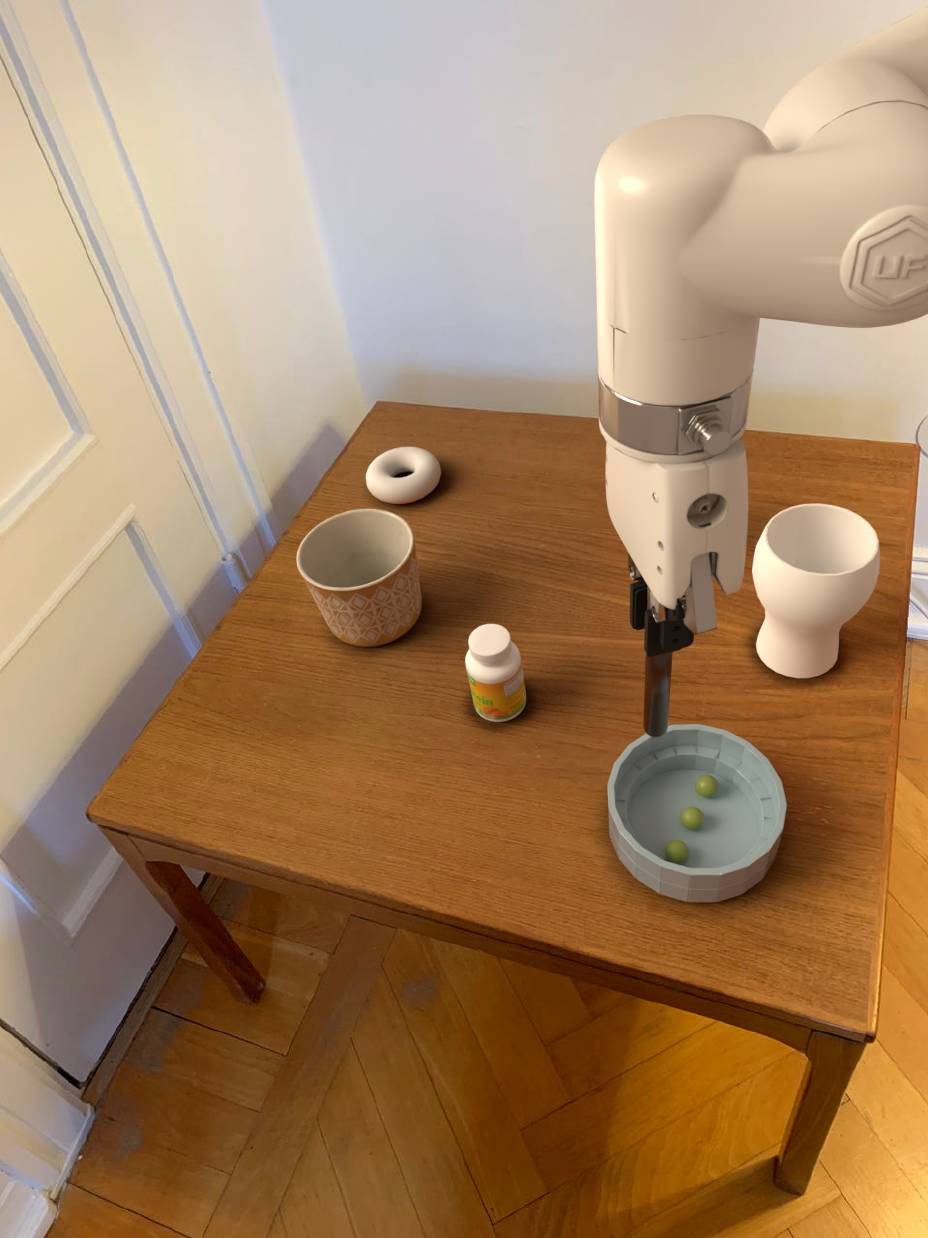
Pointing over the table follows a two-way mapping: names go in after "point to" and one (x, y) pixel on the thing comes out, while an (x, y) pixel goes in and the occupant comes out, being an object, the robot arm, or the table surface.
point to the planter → (363, 575)
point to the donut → (405, 487)
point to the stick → (657, 690)
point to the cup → (811, 584)
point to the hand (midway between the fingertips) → (660, 633)
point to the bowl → (733, 819)
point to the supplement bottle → (495, 673)
